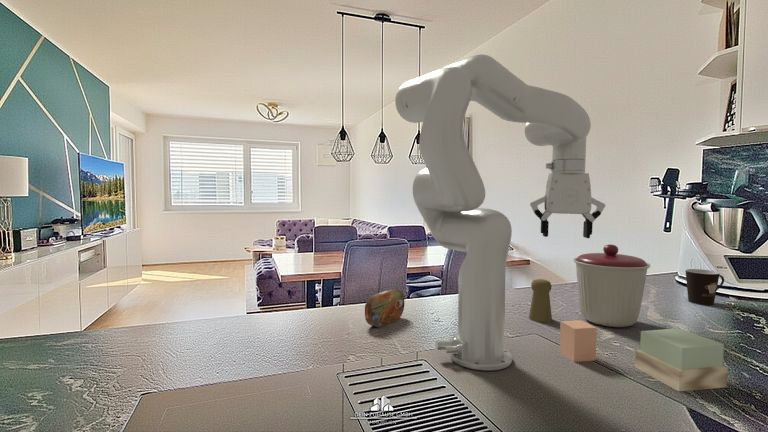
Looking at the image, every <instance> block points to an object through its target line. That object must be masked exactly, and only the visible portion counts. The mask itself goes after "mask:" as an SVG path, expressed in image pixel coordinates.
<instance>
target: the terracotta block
mask: <svg viewBox="0 0 768 432" xmlns="http://www.w3.org/2000/svg"><path fill="white" fill-rule="evenodd" d="M597 329H598V328H597V326H594V325H593V324H590V323H588V322H586V321H584V320H583V319H580V320H579V319H577V320H575V319H574V320H561V321H560V327H559V353H560V355H563V356H564V357H566V358H567V359H569V360H570V361H572V362H573V363H576V362H591V361H592V362H593V361H596V360H597V359H596V358H597V355H596V354H597V353H596V352H597V333H598V332H597Z"/></svg>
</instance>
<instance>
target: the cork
mask: <svg viewBox="0 0 768 432" xmlns="http://www.w3.org/2000/svg"><path fill="white" fill-rule="evenodd" d="M530 284H531V285H530V286H531V290H532V291H533V292H532V296H531V303H530V308H529V316H528V320H530V321H533V322H536V323H542V324H543V323H551V322H552V321H553V315H552V306H551V299H550V297H551V296H550V292H551V291H552V283H551V282H550V281H549V280H548V279H542V278H536V279H533V280H532V282H531V283H530Z"/></svg>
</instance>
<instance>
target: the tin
mask: <svg viewBox="0 0 768 432" xmlns="http://www.w3.org/2000/svg"><path fill="white" fill-rule="evenodd" d="M404 310H405V298H404V294H403V292H402V291H401V290H399V289H387V290H384V291H380V292H378V293H376V294H373V295H370V297H368V298H367V300H366V301H365V305H364V317H365V322H366V323H367V324H368V325H370V327H376V328H382V327H381V326H383V327H385V326H386V324H387V325H389V324H391V323H393V321H394V322H396V321H398V320H399V319H400V318H401V317H402V315H403V314H404ZM388 323H389V324H388ZM384 325H385V326H384Z"/></svg>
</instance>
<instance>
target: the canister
mask: <svg viewBox="0 0 768 432" xmlns="http://www.w3.org/2000/svg"><path fill="white" fill-rule="evenodd" d="M602 248H603V249H602V250H603V252H591V253H583V254H582V253H581V254H580V255H578V256H577V257H574V258H573V259H572V260H573V263H575V269H576V281H577V291H578V301H579V309H580V313H581V314H582V317H583V318H584V319H585V320H587V321H588V322H590V323H592V324H596V325H599V326H604V327H610V328H611V327H612V328H628V327H631V326H633V325H635V324H636V323H637V321H638V320H639V316H640V313H641V306H642V303H643V297H644V292H645V285H646V279H647V273H648V269H649V268H651V263H648V262H646V261H645V260H644V259H643V258H640V257H637V256H633V255H627V254H620V253H618V252H619V247H618V246H617V245H615V244H612V243H611V244H606V245H604V247H602Z"/></svg>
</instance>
